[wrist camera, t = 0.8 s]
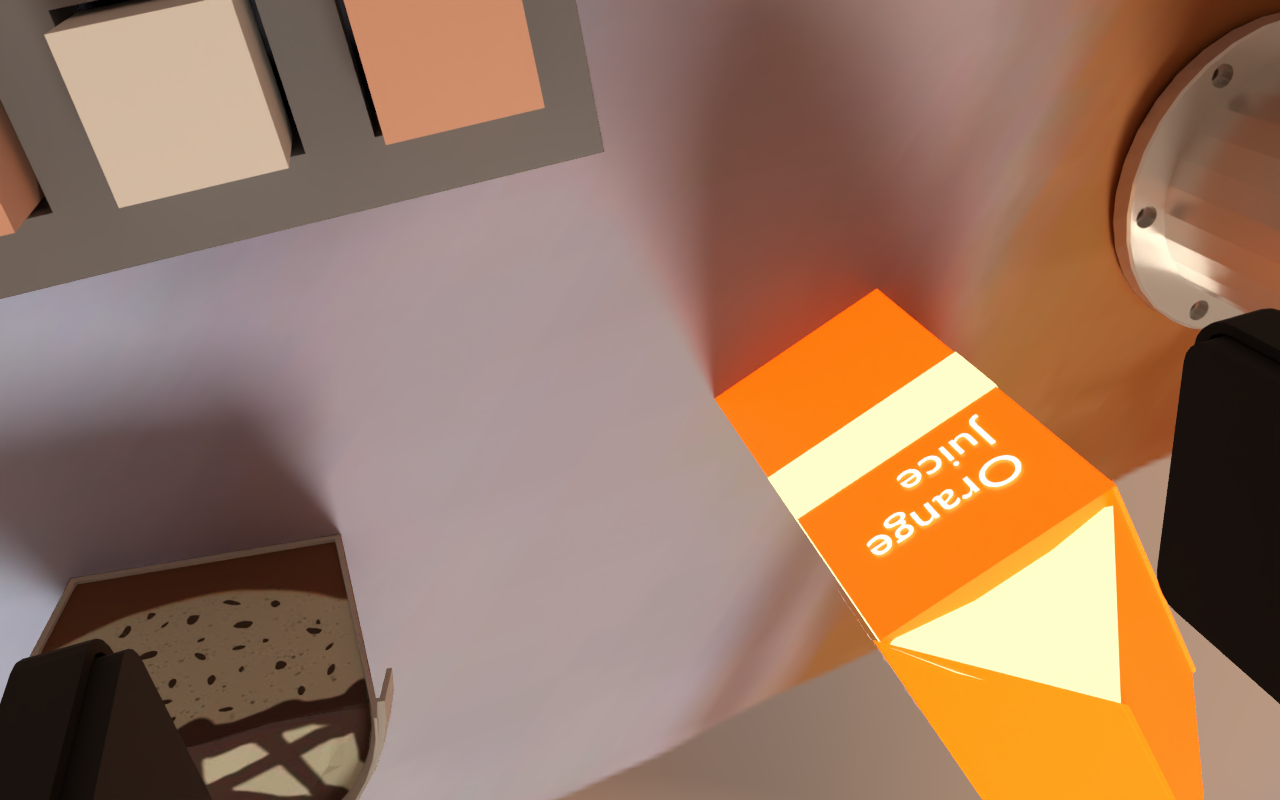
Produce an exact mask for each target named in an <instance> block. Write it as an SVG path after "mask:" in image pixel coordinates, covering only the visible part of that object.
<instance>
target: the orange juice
mask: <svg viewBox="0 0 1280 800" xmlns="http://www.w3.org/2000/svg"><path fill="white" fill-rule="evenodd" d="M715 400H716V402H717V403H718V405H719V406H720V408H721V409H722V411H723V412H724V414H725V415H726V417H727V418H728V419H729V421H730V422H731V424H732V425H733V427H734V428H735V430H736V431H737V433H738V434H739V436H740V437H741V439H742V440H743V442H744V443H745V444H746V446H747V447H748V449H749V450H750V452H751V453H752V455H753V456H754V458H755V459H756V461H757V462H758V464H759V465H760V467H761V468H762V469H763V471H764V472H765V474H766V475H767V477H768V479H769V481H770V482H771V484H772V485H773V487H774V488H775V490H776V491H777V493H778V494H779V496H780V497H781V499H782V500H783V502H784V503H785V504H786V506H787V507H788V509H789V510H790V512H791V513H792V515H793V516H794V518H795V519H796V521H797V522H798V524H799V525H800V527H801V528H802V529H803V531H804V532H805V534H806V535H807V537H808V538H809V540H810V541H811V543H812V544H813V546H814V547H815V549H816V550H817V552H818V553H819V554H820V556H821V557H822V559H823V560H824V562H825V563H826V565H827V566H828V568H829V569H830V571H831V572H832V574H833V575H834V576H835V578H836V579H837V581H838V582H839V584H840V585H841V587H842V588H843V590H844V591H845V593H846V594H847V596H848V597H849V599H850V600H851V601H852V603H853V604H854V606H855V607H856V609H857V610H858V612H859V613H860V615H861V616H862V618H863V619H864V621H865V622H866V624H867V625H868V626H869V628H870V629H871V631H872V632H873V634H874V635H875V637H876V638H877V640H878V641H879V642H878V641H874V640H873V641H874V642H875V643H876V645H877V646H878V648H879V649H880V651H881V652H882V654H883V655H884V657H885V658H886V660H887V661H888V662H889V664H890V665H891V667H892V668H893V670H894V671H895V673H896V674H897V676H898V677H899V679H900V680H901V681H902V683H903V684H904V686H905V687H906V689H907V690H908V692H909V693H910V695H911V696H912V697H913V699H914V700H915V702H916V703H917V705H918V706H919V708H920V709H921V711H922V712H923V713H924V715H925V717H926V718H927V719H928V721H929V722H930V724H931V725H932V727H933V728H934V730H935V731H936V733H937V734H938V735H939V737H940V738H941V740H942V741H943V743H944V744H945V746H946V747H947V749H948V750H949V752H950V753H951V755H952V756H953V757H954V759H955V760H956V762H957V763H958V765H959V766H960V768H961V769H962V771H963V772H964V774H965V775H966V776H967V778H968V779H969V781H970V782H971V783H972V785H973V787H974V788H975V790H976V791H977V792H978V794H979V795H980V797H981V798H982V800H1204V796H1203V785H1202V774H1201V763H1200V752H1199V742H1198V731H1197V720H1196V709H1195V699H1194V687H1193V677H1192V673H1193V672H1195V671H1196V669H1195V667H1194V665H1193V662H1192V660H1191V658H1190V656H1189V653H1188V651H1187V648H1186V646H1185V644H1184V641H1183V639H1182V637H1181V634H1180V632H1179V630H1178V628H1177V625H1176V623H1175V621H1174V618H1173V616H1172V614H1171V611H1170V609H1169V607H1168V604H1167V602H1166V600H1165V598H1164V596H1163V594H1162V592H1161V589H1160V587H1159V583H1158V581H1157V579H1156V577H1155V574H1154V572H1153V570H1152V567H1151V565H1150V563H1149V560H1148V558H1147V556H1146V553H1145V551H1144V549H1143V547H1142V544H1141V542H1140V540H1139V537H1138V535H1137V533H1136V530H1135V528H1134V526H1133V523H1132V521H1131V519H1130V516H1129V514H1128V512H1127V510H1126V507H1125V505H1124V502H1123V500H1122V498H1121V496H1120V493H1119V491H1118V489H1117V486H1116V485H1115V484H1114V482H1113V480H1112V482H1111V481H1110V480H1109V479H1108V478H1107V477H1105V476H1104V475H1103V474H1102V473H1100V472H1099V471H1098V470H1097V469H1096V468H1094V467H1093V466H1092V465H1091V464H1090V463H1088V462H1087V461H1086V460H1085V459H1083V458H1082V457H1081V456H1080V455H1079V454H1077V453H1076V452H1075V451H1074V450H1073V449H1071V448H1070V447H1069V446H1068V445H1066V444H1065V443H1064V442H1063V441H1062V440H1060V439H1059V438H1058V437H1057V436H1056V435H1054V434H1053V433H1052V432H1051V431H1049V430H1048V429H1047V428H1046V427H1045V426H1043V425H1042V424H1041V423H1040V422H1038V421H1037V420H1036V419H1035V418H1034V417H1032V416H1031V415H1030V414H1029V413H1028V412H1026V411H1025V410H1024V409H1023V408H1021V407H1020V406H1019V405H1018V404H1017V403H1015V402H1014V401H1013V400H1012V399H1011V398H1009V397H1008V396H1007V395H1006V394H1004V393H1003V392H1002V391H1001V390H1000V389H998V387H997V385H996V384H995V383H994V382H992V381H991V380H990V379H989V378H987V377H986V376H985V375H984V374H983V373H981V372H980V371H979V370H978V369H976V368H975V367H974V366H973V365H972V364H970V363H969V362H968V361H967V360H965V359H964V358H963V357H962V356H961V355H959V354H958V353H957V352H953V351H952V350H951V349H950V348H949V347H947V346H946V345H945V344H944V343H942V342H941V341H940V340H939V339H938V338H936V337H935V336H934V335H933V334H932V333H930V332H929V331H928V330H927V329H925V328H924V327H923V326H922V325H921V324H919V323H918V322H917V321H916V320H915V319H913V318H912V317H911V316H910V315H908V314H907V313H906V312H905V311H904V310H902V309H901V308H900V307H899V306H897V305H896V304H895V303H894V302H893V301H891V300H890V299H889V298H888V297H887V296H885V295H884V294H883V293H882V292H880V291H879V290H878V289H875V290H874V291H873V292H871V293H870V294H868V295H867V296H865V297H864V298H862V299H861V300H859V301H858V302H856V303H855V304H853V305H852V306H850V307H849V308H847V309H846V310H844V311H843V312H842V313H840V314H839V315H837V316H836V317H834V318H833V319H831V320H830V321H828V322H827V323H825V324H824V325H822V326H821V327H819V328H818V329H816V330H815V331H814V332H812V333H811V334H809V335H808V336H806V337H805V338H803V339H802V340H800V341H799V342H797V343H796V344H794V345H793V346H791V347H790V348H788V349H787V350H786V351H784V352H783V353H781V354H780V355H778V356H777V357H775V358H774V359H772V360H771V361H769V362H768V363H766V364H765V365H763V366H762V367H760V368H759V369H758V370H756V371H755V372H753V373H752V374H750V375H749V376H747V377H746V378H744V379H743V380H741V381H740V382H738V383H737V384H735V385H734V386H732V387H731V388H730V389H728V390H727V391H725V392H724V393H722V394H721V395H719V396H718V397H716V398H715ZM829 579H830V578H829ZM844 601H845V600H844ZM846 604H847V603H846ZM868 636H869V635H868ZM875 647H876V646H875Z"/></svg>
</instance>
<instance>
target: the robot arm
mask: <svg viewBox="0 0 1280 800" xmlns="http://www.w3.org/2000/svg"><path fill="white" fill-rule="evenodd" d="M1113 228H1114V239H1115V250H1116V253H1117V256H1118V259H1119V263H1120V266H1121V269H1122V272H1123V274H1124V276H1125V278H1126V279H1127V281H1128V283H1129V284H1130V286H1131V288H1132V289H1133V291H1134V293H1135V294H1137V295H1138V296H1139V297H1140V298H1141V299H1142V300H1143V301H1144V302H1145V303H1146V304H1147V305H1148V306H1149V307H1150V308H1152V309H1154V310H1155V311H1157V312H1159V313H1160V314H1162V315H1164V316H1165V317H1167V318H1169V319H1170V320H1172V321H1174V322H1176V323H1179V324H1181V325H1184V326H1186V327H1189V328H1193V329H1202V330H1201V332H1200V333H1199V334H1198V336H1197V338H1196V341H1195V345H1193V346H1192V347H1190V349H1189V350H1188V352H1187V353H1186V356H1185V359H1184V364H1183V372H1182V380H1181V387H1180V395H1179V403H1178V411H1177V419H1176V426H1175V434H1174V442H1173V450H1172V458H1171V465H1170V474H1169V481H1168V489H1167V497H1166V505H1165V513H1164V520H1163V528H1162V536H1161V543H1160V551H1159V560H1158V567H1157V579H1158V583H1159V587H1160V589H1161V592H1162V594H1163V596H1164V598H1165V599H1166V601H1167V602H1168V604H1169V605H1170V606H1171V607H1172V608H1173V609H1174V610H1175V611H1176V612H1177V613H1178V614H1179V615H1180V616H1181V617H1182V618H1183V619H1185V620H1186V621H1187V622H1188V623H1189V624H1190V625H1191V626H1193V627H1194V628H1195V629H1196V630H1197V631H1198V632H1199V633H1200V634H1201V635H1203V636H1204V637H1205V638H1206V639H1207V640H1209V642H1211V643H1212V644H1213V645H1214V646H1215V647H1216V648H1217V649H1219V650H1220V651H1221V652H1222V653H1223V654H1224V655H1225V656H1226V657H1228V658H1229V659H1230V660H1231V661H1232V662H1233V663H1234V664H1235V665H1236V666H1238V667H1239V668H1240V669H1241V670H1242V671H1243V672H1244V673H1246V674H1247V675H1248V676H1249V677H1250V678H1251V679H1252V680H1254V681H1255V682H1256V683H1257V684H1258V685H1259V686H1260V687H1261V688H1263V689H1264V690H1265V691H1266V692H1267V693H1268V694H1269V695H1271V696H1272V697H1273V698H1274V699H1275V700H1276V701H1277V702H1278V703H1279V704H1280V13H1275V14H1271V15H1267V16H1263V17H1260V18H1258V19H1256V20H1254V21H1251V22H1249V23H1247V24H1245V25H1243V26H1241V27H1238V28H1236V29H1234V30H1232V31H1231V32H1229V33H1228V34H1226V35H1225V36H1223V37H1222V38H1220V39H1219V40H1217V41H1216V42H1214V43H1213V44H1211V45H1210V46H1209V47H1207V48H1206V49H1204V50H1203V51H1202V52H1201V53H1200V54H1199V55H1198V56H1197V57H1196V58H1194V59H1193V60H1192V61H1191V62H1190V63H1189V64H1188V65H1187V66H1186V67H1185V68H1184V69H1183V70H1181V71H1180V72H1179V73H1178V74H1177V76H1176V77H1175V78H1174V79H1173V81H1172V82H1171V83H1170V84H1169V85H1168V87H1167V88H1166V89H1165V90H1164V92H1163V93H1162V94H1161V95H1160V97H1159V98H1158V99H1157V100H1156V102H1155V103H1154V105H1153V107H1152V108H1151V110H1150V111H1149V113H1148V115H1147V116H1146V118H1145V120H1144V121H1143V123H1142V125H1141V126H1140V128H1139V129H1138V131H1137V134H1136V136H1135V138H1134V140H1133V143H1132V145H1131V147H1130V150H1129V152H1128V154H1127V157H1126V159H1125V161H1124V164H1123V168H1122V172H1121V176H1120V179H1119V183H1118V187H1117V191H1116V197H1115V207H1114V218H1113ZM0 800H212V798H211V796H210V794H209V792H208V790H207V788H206V786H205V784H204V782H203V780H202V778H201V776H200V774H199V772H198V770H197V768H196V766H195V764H194V762H193V760H192V758H191V756H190V754H189V752H188V750H187V748H186V746H185V744H184V742H183V740H182V738H181V736H180V734H179V732H178V730H177V728H176V726H175V724H174V722H173V720H172V718H171V716H170V714H169V712H168V710H167V708H166V706H165V704H164V702H163V700H162V698H161V696H160V694H159V692H158V690H157V689H156V687H155V685H154V683H153V681H152V679H151V677H150V675H149V673H148V671H147V669H146V667H145V665H144V663H143V661H142V659H141V658H140V656H139V655H138V653H136V652H135V651H134V650H133V649H126V650H122V651H119V652H115V653H114V652H113V651H112V649H111V648H110V646H109V645H108V644H107V643H106V642H104V641H103V640H101V639H96V638H95V639H92V640H88V641H85V642H81V643H78V644H74V645H71V646H67V647H64V648H60V649H56V650H53V651H49V652H46V653H42V654H39V655H35V656H32V657H28V658H25V659H22V660H20V661H19V662H17V663H16V664H15V666H14V668H13V669H12V671H11V673H10V676H9V679H8V682H7V685H6V688H5V691H4V694H3V697H2V700H1V703H0Z"/></svg>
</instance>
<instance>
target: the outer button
mask: <svg viewBox="0 0 1280 800" xmlns="http://www.w3.org/2000/svg"><path fill="white" fill-rule="evenodd" d="M44 196H45V194H44V192H43V190H42V188H41V186H40V184H39V181H38V179H37V177H36V175H35V173H34V171H33V169H32V166H31V164H30V162H29V160H28V158H27V156H26V153H25V151H24V149H23V147H22V145H21V143H20V141H19V138H18V136H17V134H16V132H15V130H14V128H13V125H12V123H11V121H10V119H9V117H8V115H7V113H6V110H5V108H4V106H3V104H2V102H1V100H0V236H4V235H8V234H12V233H15V232H16V231H17V230H18V228H19V227H20V226H21V225H22V223H23V222H24V221H25V220H26V218H27V217H28V216H29V215H30V213H31V212H32V211H33V210H34V208H35V207H36V206H37V205H38V203H39V202H40V201H41V200H42V198H43V197H44Z"/></svg>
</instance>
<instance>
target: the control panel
mask: <svg viewBox="0 0 1280 800" xmlns="http://www.w3.org/2000/svg"><path fill="white" fill-rule="evenodd" d="M91 1H96V0H0V100H1V102H2V104H3V106H4V108H5V110H6V113H7V115H8V117H9V119H10V121H11V123H12V125H13V128H14V130H15V132H16V134H17V136H18V138H19V141H20V143H21V145H22V147H23V149H24V151H25V153H26V156H27V158H28V160H29V162H30V164H31V166H32V169H33V171H34V173H35V175H36V177H37V179H38V181H39V184H40V186H41V188H42V190H43V192H44V194H45V196H44V197H43V198H42V200H41V201H40V202H39V203H38V205H37V206H36V207H35V208H34V210H33V211H32V212H31V213H30V215H29V216H28V217H27V218H26V220H25V221H24V222H23V223H22V225H21V226H20V227H19V228H18V230H17V231H16V232H15V233H12V234H8V235H4V236H0V299H2V298H6V297H10V296H14V295H19V294H23V293H27V292H31V291H35V290H39V289H43V288H47V287H51V286H56V285H60V284H64V283H68V282H72V281H76V280H80V279H84V278H88V277H92V276H97V275H101V274H105V273H109V272H113V271H117V270H121V269H125V268H129V267H133V266H138V265H142V264H146V263H150V262H154V261H158V260H162V259H166V258H170V257H175V256H179V255H183V254H187V253H191V252H195V251H199V250H203V249H207V248H211V247H216V246H220V245H224V244H228V243H232V242H236V241H240V240H244V239H248V238H253V237H257V236H261V235H265V234H269V233H273V232H277V231H281V230H285V229H289V228H294V227H298V226H302V225H306V224H310V223H314V222H318V221H322V220H326V219H330V218H335V217H339V216H343V215H347V214H351V213H355V212H359V211H363V210H367V209H372V208H376V207H380V206H384V205H388V204H392V203H396V202H400V201H404V200H408V199H413V198H417V197H421V196H425V195H429V194H433V193H437V192H441V191H445V190H450V189H454V188H458V187H462V186H466V185H470V184H474V183H478V182H482V181H486V180H491V179H495V178H499V177H503V176H507V175H511V174H515V173H519V172H523V171H527V170H532V169H536V168H540V167H544V166H548V165H552V164H556V163H560V162H564V161H569V160H573V159H577V158H581V157H585V156H589V155H593V154H597V153H601V152H604V148H603V143H602V137H601V132H600V127H599V121H598V116H597V111H596V106H595V100H594V95H593V90H592V84H591V79H590V74H589V69H588V63H587V58H586V53H585V47H584V42H583V37H582V32H581V26H580V21H579V16H578V10H577V5H576V0H522V3H523V8H524V12H525V17H526V22H527V26H528V31H529V36H530V40H531V45H532V50H533V55H534V59H535V64H536V69H537V73H538V78H539V83H540V87H541V92H542V97H543V101H544V106H545V108H542V109H537V110H533V111H529V112H525V113H521V114H516V115H512V116H508V117H504V118H499V119H495V120H491V121H487V122H482V123H478V124H474V125H470V126H465V127H461V128H457V129H453V130H448V131H444V132H440V133H436V134H432V135H427V136H423V137H419V138H415V139H410V140H406V141H402V142H398V143H393V144H389V145H386V144H385V141H384V137H383V134H382V130H381V127H380V123H379V120H378V117H377V113H375V114H371V111H370V108H369V104H368V101H367V97H366V94H365V91H364V87H363V84H362V80H361V77H360V74H359V70H358V67H357V64H356V60H355V57H354V53H353V50H352V47H351V43H350V40H349V36H348V33H347V30H346V26H345V23H344V19H343V16H342V13H341V9H340V6H339V2H338V0H255V2H256V5H257V8H258V11H259V15H260V18H261V21H262V24H263V27H264V30H265V33H266V36H267V39H268V42H269V45H270V48H271V51H272V54H273V57H274V60H275V63H276V66H277V69H278V72H279V75H280V78H281V81H282V84H283V87H284V90H285V93H286V96H287V99H288V102H289V105H290V108H291V111H292V114H293V117H294V120H295V123H296V126H297V129H298V131H297V132H293V139H292V147H291V155H290V163H289V168H287V169H283V170H279V171H275V172H271V173H266V174H262V175H258V176H254V177H249V178H245V179H241V180H237V181H232V182H228V183H224V184H220V185H215V186H211V187H207V188H203V189H198V190H194V191H190V192H186V193H182V194H177V195H173V196H169V197H165V198H160V199H156V200H152V201H148V202H143V203H139V204H135V205H131V206H126V207H122V208H119V207H118V205H117V203H116V200H115V198H114V196H113V193H112V191H111V189H110V186H109V184H108V182H107V179H106V177H105V175H104V173H103V170H102V168H101V166H100V163H99V161H98V159H97V156H96V154H95V152H94V149H93V147H92V145H91V142H90V140H89V138H88V135H87V133H86V131H85V128H84V126H83V124H82V121H81V119H80V117H79V115H78V112H77V110H76V108H75V105H74V103H73V101H72V98H71V96H70V94H69V91H68V89H67V87H66V84H65V82H64V80H63V77H62V75H61V73H60V70H59V68H58V66H57V64H56V61H55V59H54V57H53V54H52V52H51V50H50V47H49V45H48V43H47V40H46V38H45V36H44V34H46V33H47V32H49V31H50V30H51V29H53V28H54V27H56V26H57V25H59V24H60V23H62V22H63V21H65V20H66V19H68V18H69V17H70V16H72V15H73V14H75V13H76V12H78V11H79V10H78V8H77V6H76V5H77V4H82V3H86V2H91Z"/></svg>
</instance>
